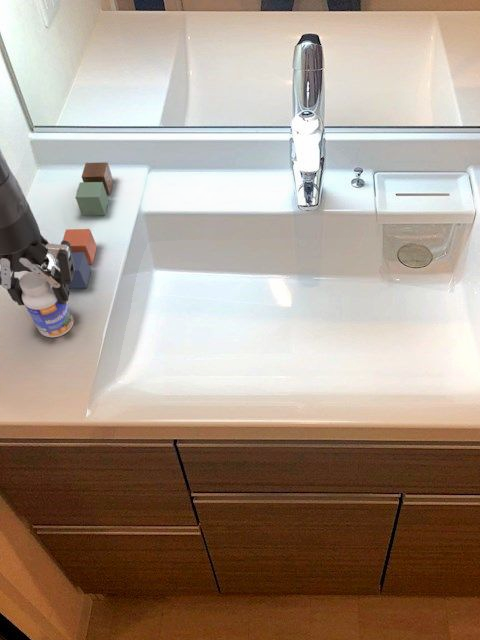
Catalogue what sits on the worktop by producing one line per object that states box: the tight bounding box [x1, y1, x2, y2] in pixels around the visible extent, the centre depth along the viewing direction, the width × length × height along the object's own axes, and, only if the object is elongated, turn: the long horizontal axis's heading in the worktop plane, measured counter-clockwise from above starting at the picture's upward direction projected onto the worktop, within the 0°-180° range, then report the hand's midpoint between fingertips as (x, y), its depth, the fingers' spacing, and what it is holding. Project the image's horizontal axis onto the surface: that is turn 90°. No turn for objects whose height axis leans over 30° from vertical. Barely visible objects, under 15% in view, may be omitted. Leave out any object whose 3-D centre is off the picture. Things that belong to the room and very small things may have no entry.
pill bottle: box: [19, 271, 74, 338], centre depth 93 cm, size 5×5×10 cm
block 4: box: [55, 252, 92, 290], centre depth 101 cm, size 4×4×4 cm
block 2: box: [75, 181, 109, 217], centre depth 110 cm, size 4×4×4 cm
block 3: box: [62, 228, 98, 265], centre depth 104 cm, size 4×4×4 cm
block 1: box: [81, 161, 114, 196], centre depth 114 cm, size 4×4×4 cm
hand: (43, 300), depth 93 cm, fingers closed on pill bottle, 5 cm apart
